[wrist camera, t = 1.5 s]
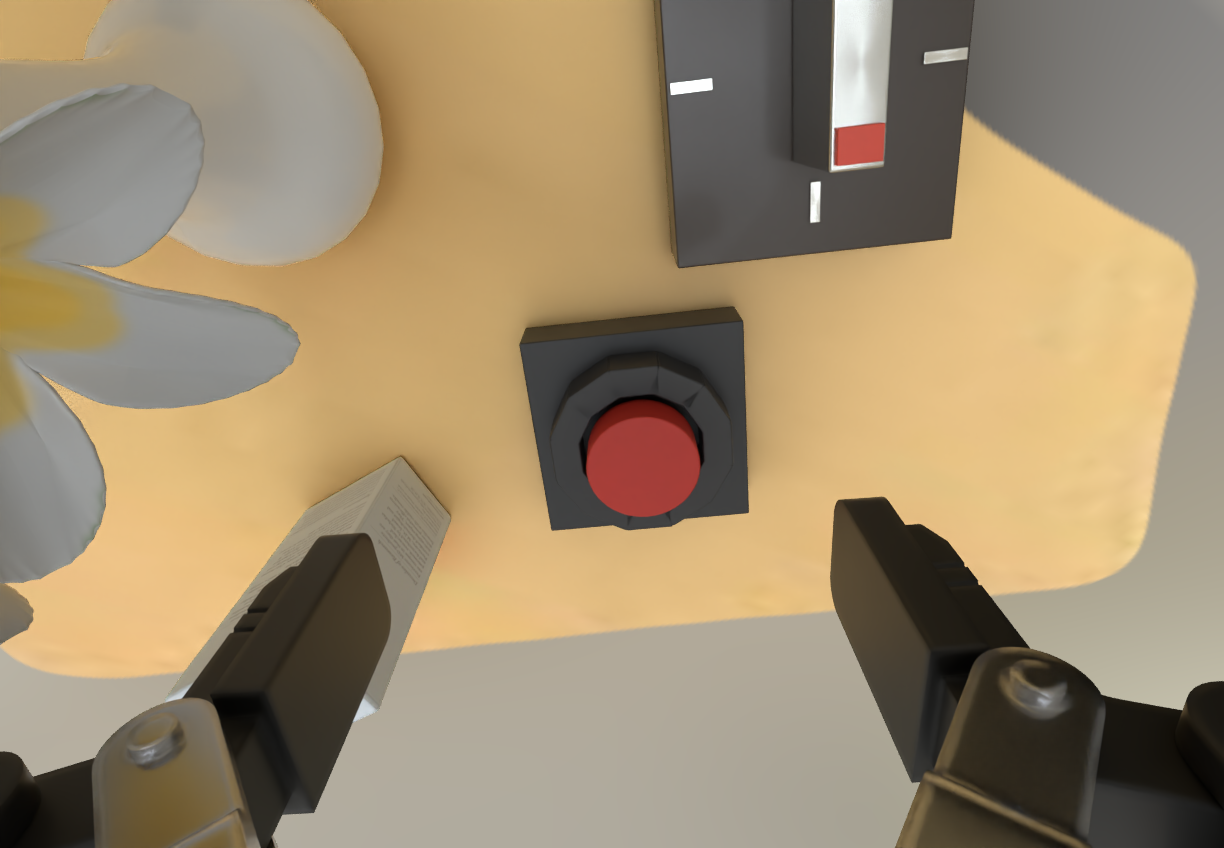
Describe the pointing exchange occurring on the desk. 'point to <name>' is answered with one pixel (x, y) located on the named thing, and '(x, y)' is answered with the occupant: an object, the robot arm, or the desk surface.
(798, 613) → the desk surface
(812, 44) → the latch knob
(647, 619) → the desk surface
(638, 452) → the button
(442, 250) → the desk surface
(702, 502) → the button box
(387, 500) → the cosmetic box
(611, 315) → the desk surface
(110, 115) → the flower vase
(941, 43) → the rotary lever switch
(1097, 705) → the robot arm
